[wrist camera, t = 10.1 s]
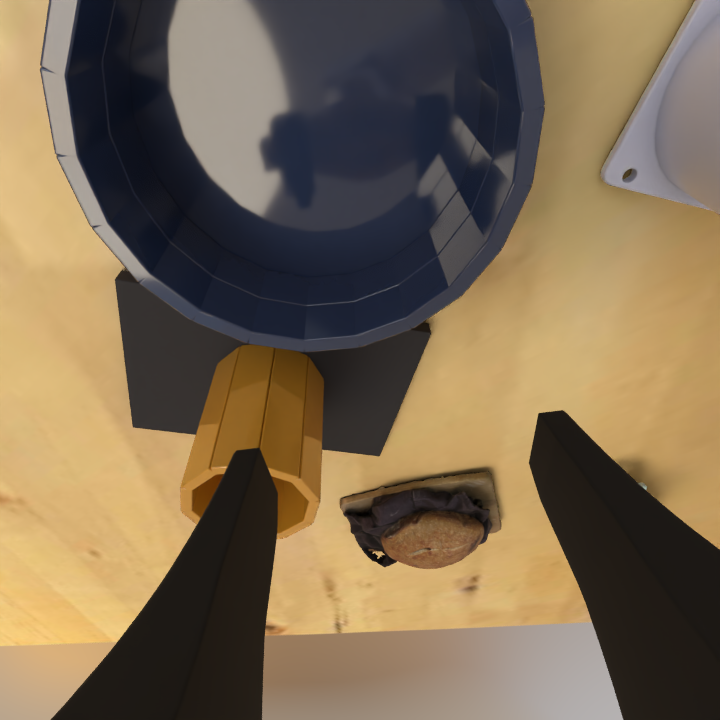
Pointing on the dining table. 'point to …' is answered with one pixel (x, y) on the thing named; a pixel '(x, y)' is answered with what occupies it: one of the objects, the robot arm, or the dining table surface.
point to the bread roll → (424, 520)
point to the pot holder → (208, 347)
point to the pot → (297, 153)
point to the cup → (261, 431)
